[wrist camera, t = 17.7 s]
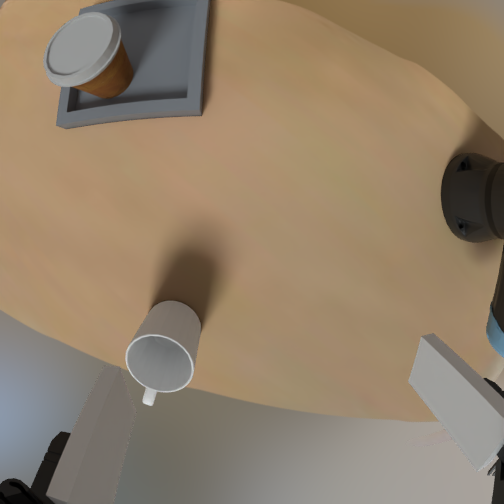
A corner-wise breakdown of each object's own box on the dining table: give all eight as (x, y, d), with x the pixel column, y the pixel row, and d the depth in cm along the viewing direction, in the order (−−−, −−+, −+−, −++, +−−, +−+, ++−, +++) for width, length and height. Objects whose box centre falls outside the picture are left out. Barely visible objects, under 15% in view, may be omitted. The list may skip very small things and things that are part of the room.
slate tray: (210, -1, 31) (210, -12, 28) (201, 115, 35) (199, 109, 32) (87, 17, 29) (80, 9, 27) (66, 129, 33) (56, 125, 30)
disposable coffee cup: (94, 122, 33) (49, 100, 21) (75, 73, 31) (34, 43, 19) (155, 86, 33) (129, 47, 21) (131, 39, 31) (105, -5, 19)
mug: (155, 291, 39) (133, 323, 29) (209, 311, 40) (203, 349, 30) (135, 359, 41) (115, 401, 31) (183, 377, 42) (174, 423, 32)
